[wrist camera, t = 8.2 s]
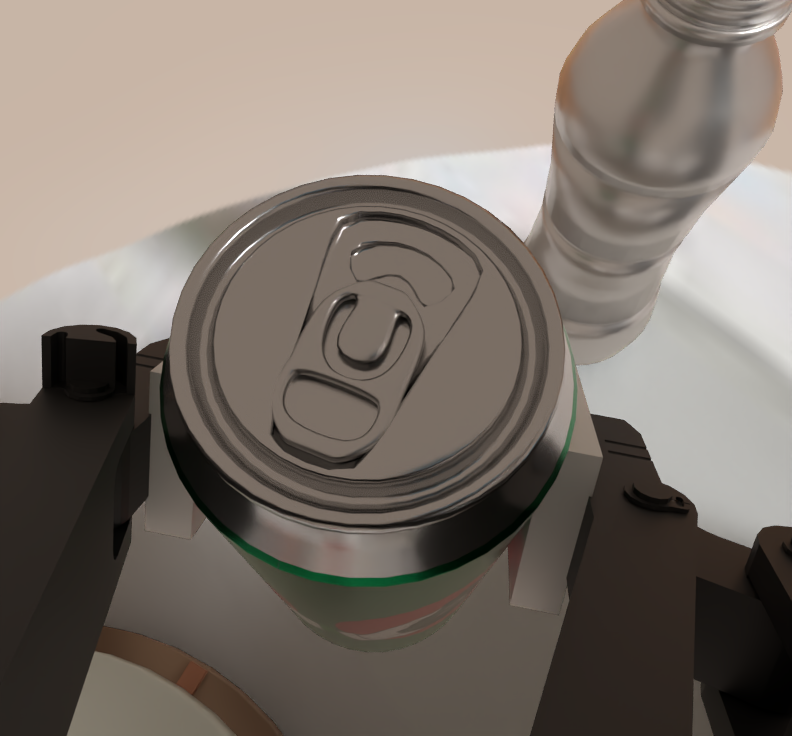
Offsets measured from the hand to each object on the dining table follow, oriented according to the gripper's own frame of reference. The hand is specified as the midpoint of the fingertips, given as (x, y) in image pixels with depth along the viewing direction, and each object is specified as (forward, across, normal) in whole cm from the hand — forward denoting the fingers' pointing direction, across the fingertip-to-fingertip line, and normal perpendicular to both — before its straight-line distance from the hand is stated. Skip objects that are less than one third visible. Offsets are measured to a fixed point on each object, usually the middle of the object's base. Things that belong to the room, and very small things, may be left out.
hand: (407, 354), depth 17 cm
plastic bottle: (+19, +6, -4) cm, 21 cm away
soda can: (0, 0, -5) cm, 5 cm away
